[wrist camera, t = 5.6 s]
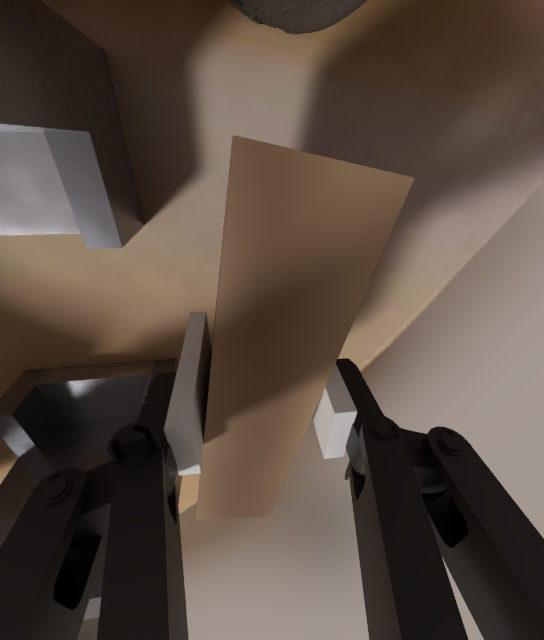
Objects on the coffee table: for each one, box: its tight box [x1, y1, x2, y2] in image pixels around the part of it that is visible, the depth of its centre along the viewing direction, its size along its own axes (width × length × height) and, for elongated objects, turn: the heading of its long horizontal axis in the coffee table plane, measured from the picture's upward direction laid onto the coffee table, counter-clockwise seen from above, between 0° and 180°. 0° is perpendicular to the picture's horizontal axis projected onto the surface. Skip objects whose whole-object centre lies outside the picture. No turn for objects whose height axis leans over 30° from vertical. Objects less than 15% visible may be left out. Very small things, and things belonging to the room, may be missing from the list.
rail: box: [196, 136, 414, 520], centre depth 13 cm, size 4×17×6 cm, turn 169°
